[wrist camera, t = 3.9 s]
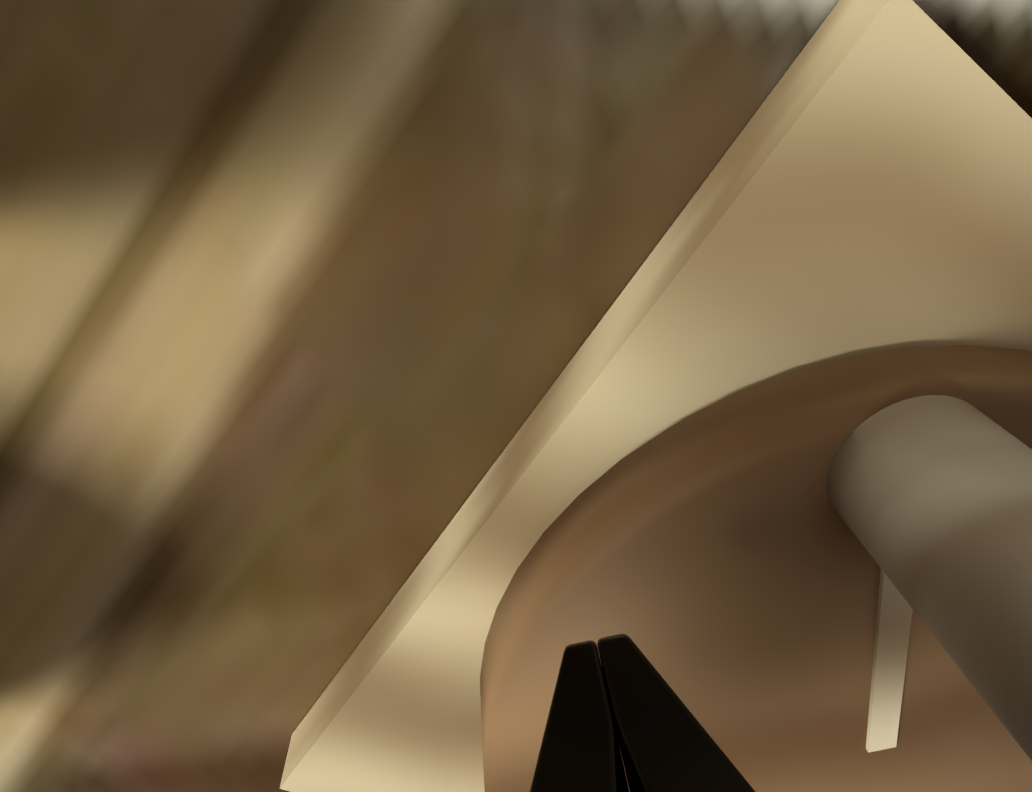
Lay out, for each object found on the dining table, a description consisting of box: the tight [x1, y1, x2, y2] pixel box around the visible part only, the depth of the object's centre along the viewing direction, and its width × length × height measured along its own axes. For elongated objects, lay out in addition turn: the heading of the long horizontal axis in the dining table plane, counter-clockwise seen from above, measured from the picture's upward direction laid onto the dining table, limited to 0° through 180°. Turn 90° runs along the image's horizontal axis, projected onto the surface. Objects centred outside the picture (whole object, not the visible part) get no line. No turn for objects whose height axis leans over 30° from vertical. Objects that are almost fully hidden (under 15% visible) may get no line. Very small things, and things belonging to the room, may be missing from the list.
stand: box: [280, 0, 1032, 792], centre depth 17 cm, size 21×19×2 cm
